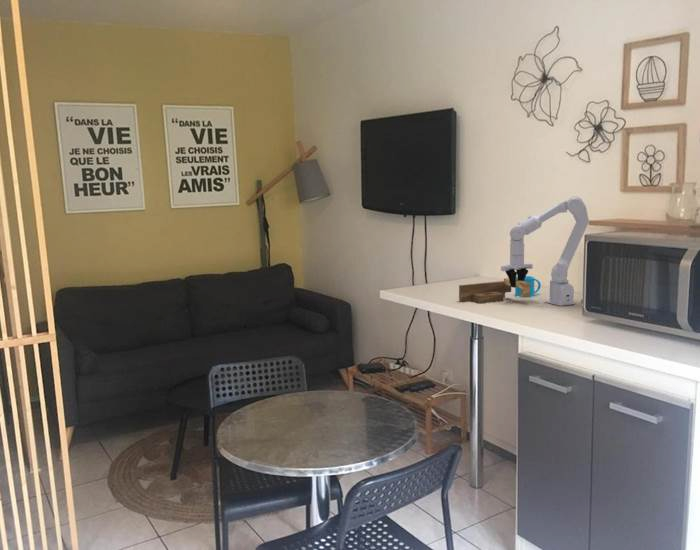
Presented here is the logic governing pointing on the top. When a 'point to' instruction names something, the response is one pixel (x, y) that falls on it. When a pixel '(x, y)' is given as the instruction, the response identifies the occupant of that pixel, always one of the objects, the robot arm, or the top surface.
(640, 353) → the top surface
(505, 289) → the rail
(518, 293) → the mug
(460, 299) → the stepped wooden block
